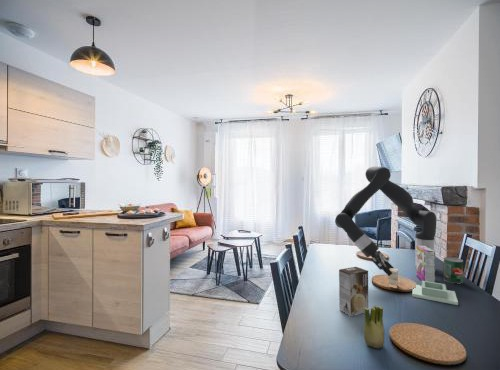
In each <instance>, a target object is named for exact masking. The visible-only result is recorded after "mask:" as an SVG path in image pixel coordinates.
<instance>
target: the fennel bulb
mask: <svg viewBox="0 0 500 370" xmlns="http://www.w3.org/2000/svg"><path fill="white" fill-rule="evenodd" d="M383 316H384V308H383V307H382V306H378V305H374V307H371V308H370V309H369V307H368V308H365V313H364V327H363V329H364V330H363V335H364V342H365V343H366V345H367V346H369V347H371V348H374V349H382V348H383V347H384V343H385V326H384V323H383Z"/></svg>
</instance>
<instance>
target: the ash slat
mask: <svg viewBox="0 0 500 370" xmlns="http://www.w3.org/2000/svg"><path fill="white" fill-rule="evenodd" d="M389 270H390V271H391V272H392V274H391V275H390V276H388V285H389V284H391V285H396V286H397V284H399V269H398V268H394V269H393V268H390V269H389Z"/></svg>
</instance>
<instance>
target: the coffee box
mask: <svg viewBox="0 0 500 370" xmlns="http://www.w3.org/2000/svg"><path fill="white" fill-rule="evenodd" d="M338 283H339V284H338V286H339V287H338V297H339V298H338V300H339V302H338V305H339V309H340V311H341V312H342V311H343V313H344V312H345V314H346V315H347V314H348V315H347V316H349V315H350V316H349V317H353V316H352V315H355V316H358V315H361V314H365V308H368V309H369V270H367V269H364V268H361V267H357V266H351V267H347V268H339V269H338Z"/></svg>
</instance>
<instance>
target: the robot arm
mask: <svg viewBox="0 0 500 370" xmlns="http://www.w3.org/2000/svg"><path fill="white" fill-rule="evenodd" d="M365 178H366V180H367V181H368V185H366V186H365V187H364V188H362V189H361V190H360V191H357V192H356V193H355V194H354V195H353V196H352V197H351V198H350V199H349V201H348V202H347V203H346V205H345V206H344V208H343V209H342V210H341V212H340V213H338V214H337V215H336V217H335V221H334V224H335V225H336V227H338V228H340V229H342V230H343V231H344V232H345V233H346V236H347V237H348V238H349V240H350V241H352V242H353V243H354V245H355V246H356V247H357V249H359V250H360V252H361V253H362V254H363V255H364V256H365V257H366V258H369V257H371V259H370V260H371V261H372V262H373V264H374V265H375V266H376V267H377V268H378V269H379V270H382V271H383V272H384V273H385V274H386V275H387V276H388V277H389V276H390V275H391V274H392V272H391V271H390V270H389V269H390V268H393V269H395V268H394V266H393V265H392V264H391V263H390V262H389V260H388V258H387V257H386V256H385V255H384V254H383V253H382V252H381V251H380V250H379V246H378V245H377V244H376V243H375V242H374V241H373V240H372V239H371V238H370V237H369V236H368V235H367V234H366V233H364V231H362V229H361V228H360V227H359V226H358V225H357V224H356V222H355V221H354V220H353V219H354V218H355V216H356V215H357V214H358V213H359V212H360V210H361V209H362V208H363V207H364V206H365V204H366V203H367V202H368V201H369V200H370V199H371V198H372V197H373V196H374V195H375V194H376V193H377V192H378V191H381V192H382V193H383V194H384V196H386V197H387V198H388V199H389V200H390V201H392V203H393V204H394V205H395V206H396V207H398V208H399V209H400V210H401V211H402V212H403V213H404V214H405V215H406V216H407V217H408V219H410V221H411V222H412V223H413V224H414V225H415V226H419V227H422V230H421V231H418V232H416V233H415V240H414V241H415V243H414V244H415V247H414V248H415V249H414V257H415V259H414V261H415V262H414V263H415V264H414V266H415V268H416V246H426V247H428V248H430V249H432V250H433V251H435V236H436V234H437V233H436V232H437V215H436V214H435V212H433V211H431V210H430V211H429V210H421V209H419V208H417V206H415V205H414V199H413V197H412V195H411V193H409V192H408V191H407V190H406V188H403V187H402V186H400V185H398V184H397V183H395V182H392V181H391V180H390V179H391V171H390V169H389V168H388V167H385V166H370V167H368V168H367V169H366V171H365Z"/></svg>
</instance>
